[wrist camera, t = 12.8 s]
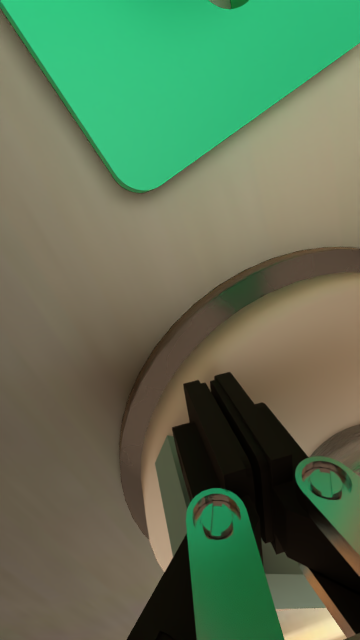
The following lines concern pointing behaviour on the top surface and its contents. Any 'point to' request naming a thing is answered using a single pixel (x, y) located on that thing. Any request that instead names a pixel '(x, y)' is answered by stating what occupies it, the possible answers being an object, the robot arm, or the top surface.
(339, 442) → the cover
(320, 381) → the turntable
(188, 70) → the camera mount
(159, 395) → the turntable base
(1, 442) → the top surface
